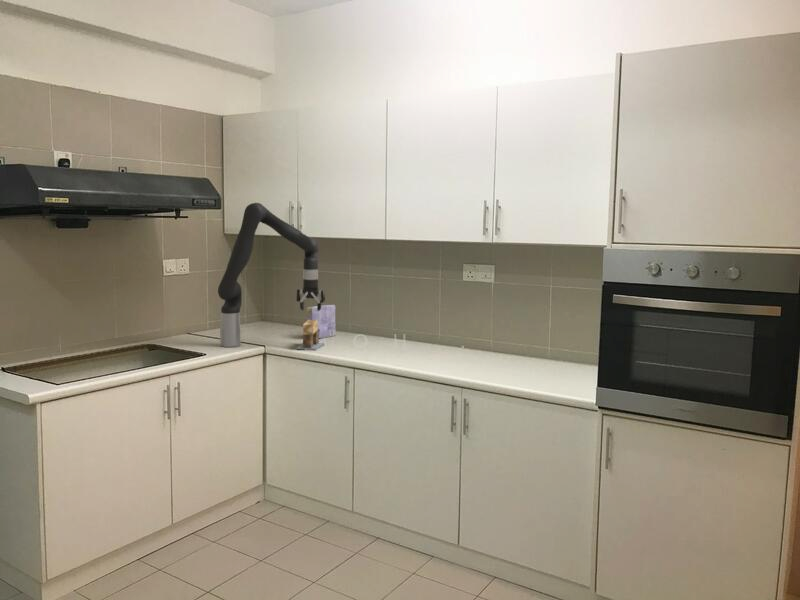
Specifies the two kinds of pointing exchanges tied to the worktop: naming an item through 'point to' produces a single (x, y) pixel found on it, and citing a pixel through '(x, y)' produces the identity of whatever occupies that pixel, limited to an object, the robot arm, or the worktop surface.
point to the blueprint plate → (312, 347)
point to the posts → (311, 340)
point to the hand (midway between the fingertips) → (310, 310)
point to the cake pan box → (323, 319)
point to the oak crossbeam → (310, 327)
